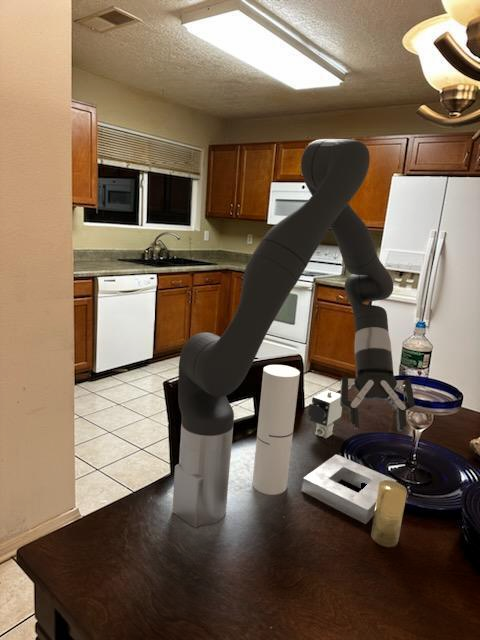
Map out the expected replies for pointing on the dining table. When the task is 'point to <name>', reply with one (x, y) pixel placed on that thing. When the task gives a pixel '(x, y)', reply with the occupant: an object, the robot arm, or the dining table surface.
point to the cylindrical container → (275, 428)
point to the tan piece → (388, 513)
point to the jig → (341, 497)
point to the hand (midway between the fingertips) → (378, 429)
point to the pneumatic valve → (325, 412)
